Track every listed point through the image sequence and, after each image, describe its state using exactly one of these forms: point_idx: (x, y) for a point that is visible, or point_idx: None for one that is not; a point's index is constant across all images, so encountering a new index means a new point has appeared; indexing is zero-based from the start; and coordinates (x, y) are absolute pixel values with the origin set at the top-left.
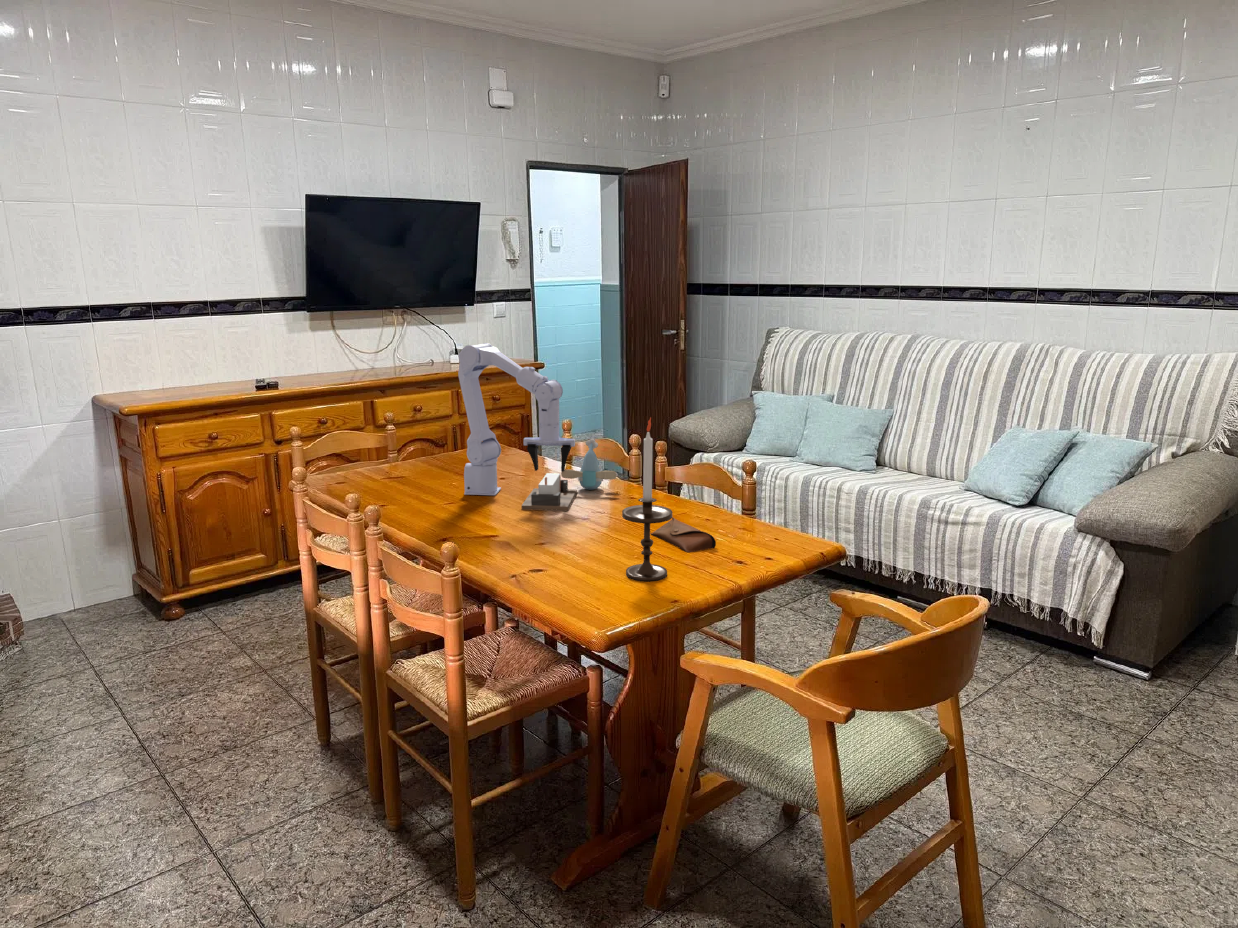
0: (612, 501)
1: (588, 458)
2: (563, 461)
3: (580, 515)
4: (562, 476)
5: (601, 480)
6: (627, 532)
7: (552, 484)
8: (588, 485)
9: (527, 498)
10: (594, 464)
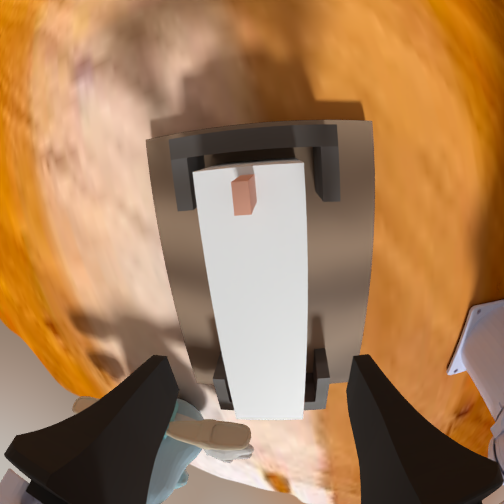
0: (70, 294)
1: None
2: (111, 399)
3: (100, 98)
4: (246, 428)
5: None
6: (8, 31)
7: (200, 194)
8: None
9: (368, 247)
10: None
